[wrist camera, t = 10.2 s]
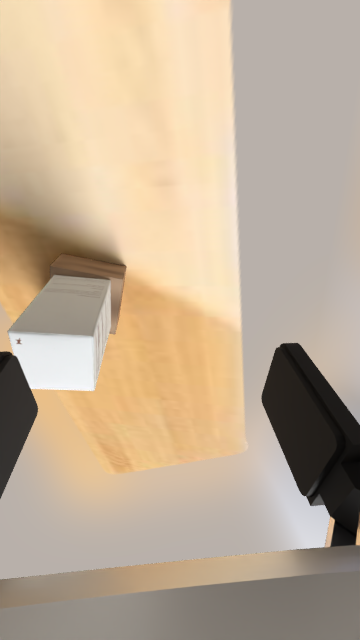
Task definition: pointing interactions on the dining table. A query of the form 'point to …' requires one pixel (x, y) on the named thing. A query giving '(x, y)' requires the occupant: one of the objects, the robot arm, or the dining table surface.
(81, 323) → the supplement box
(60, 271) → the walnut block
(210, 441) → the dining table surface
